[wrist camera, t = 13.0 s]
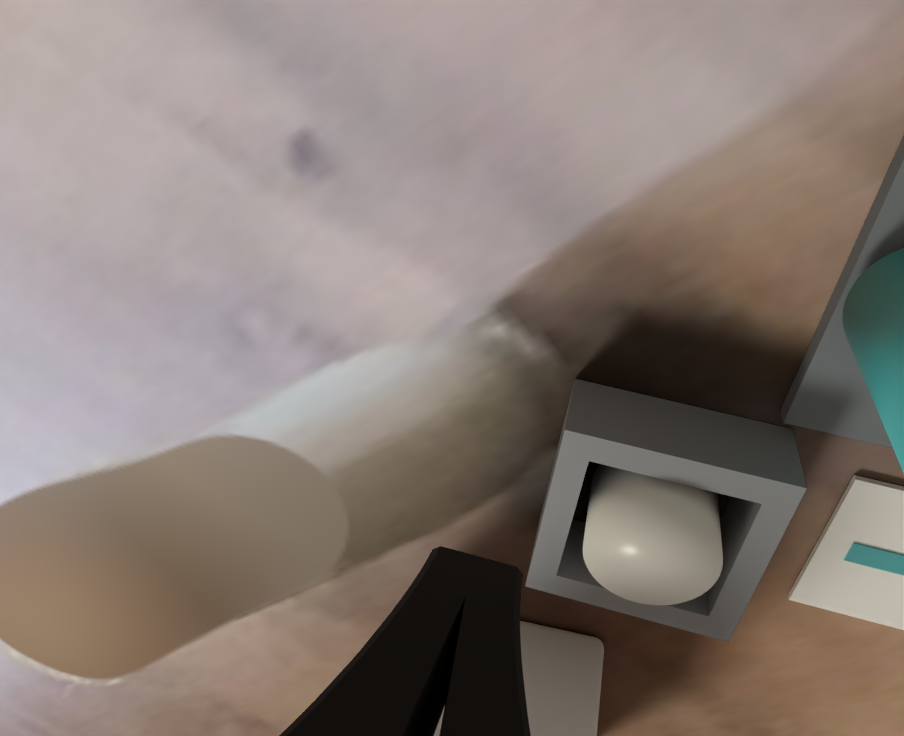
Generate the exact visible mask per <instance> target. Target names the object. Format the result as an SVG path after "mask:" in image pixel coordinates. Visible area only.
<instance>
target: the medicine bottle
mask: <svg viewBox="0 0 904 736" xmlns="http://www.w3.org/2000/svg"><path fill="white" fill-rule="evenodd" d="M520 637H521V656H522V669H523V678H524V687H525V696H526V705H527V713H528V720H529V727H530V734H531V736H597V727H598V715H599V704H600V692H601V681H602V669H603V658H604V647H603V642H602V641H601V640H600V639H598V638H596V637H593V636H588V635H584V634H579V633H575V632H570V631H565V630H561V629H556V628H552V627H547V626H543V625H538V624H534V623H529V622H524V621H520ZM444 708H445V706H444ZM443 713H444V709H443V712H442V714H441V717H440V720H439V723H438V725H437V728H436V731H435V733H434V736H439V735H440V730H441V724H442V719H443Z"/></svg>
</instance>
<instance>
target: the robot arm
mask: <svg viewBox="0 0 904 736" xmlns="http://www.w3.org/2000/svg"><path fill="white" fill-rule="evenodd" d="M522 579H523V574H522V572H521V571H520V570H519V568H518V567H515V566H511V565H508V564H504V563H500V562H497V561H493V560H489V559H485V558H482V557H478V556H474V555H471V554H467V553H463V552H460V551H456V550H452V549H449V548H445V547H441V546H440V547H438V548H435V549H433V550H432V552H431V553H430V555H429V557H428V559H427V561H426V563H425V564H424V566H423V567H422V569H421V571H420V572H419V574H418V575H417V577H416V578H415V580H414V581H413V583H412V584H411V586H410V587H409V589H408V590H407V592H406V593H405V594H404V596H403V597H402V598H401V600H400V601H399V602H398V604H397V605H396V607H395V608H394V609H393V611H392V612H391V613H390V615H389V616H388V617H387V618H386V620H385V621H384V622H383V623H382V624H381V626H380V627H379V628H378V629H377V631H376V632H375V633H374V634H373V636H372V637H371V638H370V639H369V640H368V642H367V643H366V644H365V645H364V647H363V648H362V649H361V650H360V651H359V653H358V654H357V655H356V656H355V657H354V658H353V660H352V661H351V662H350V663H349V664H348V665H347V666H346V667H345V668H344V669H343V670H342V672H341V673H340V674H339V675H338V676H337V677H336V678H335V679H334V680H333V681H332V682H331V684H330V685H329V686H328V687H327V688H326V689H325V690H324V691H323V692H322V693H321V694H320V696H319V697H318V698H317V699H316V700H315V701H314V702H313V703H312V704H311V705H310V706H309V707H308V708H307V709H306V710H305V711H304V712H303V713H302V714H301V715H300V716H299V717H298V718H297V719H296V720H295V721H294V722H293V723H292V724H291V725H290V726H289V727H288V728H287V729H286V730H285V731H284V732H283V733H282V734H281V735H279V736H434V733H435V731H436V728H437V725H438V723H439V720H440V717H441V714H442V712H443V709H444V713H443V719H442V724H441V730H440V735H439V736H531V734H530V727H529V720H528V713H527V705H526V696H525V687H524V678H523V669H522V656H521V637H520V598H521V585H522ZM444 706H445V708H444Z"/></svg>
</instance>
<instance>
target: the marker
mask: <svg viewBox="0 0 904 736" xmlns="http://www.w3.org/2000/svg"><path fill="white" fill-rule="evenodd" d="M842 321H843V328H844V332H845V335H846V337H847V340H848V342H849V345H850V347H851V349H852V352H853V354H854V356H855V359H856V361H857V364H858V366H859V368H860V371H861V373H862V375H863V378H864V380H865V383H866V385H867V387H868V390H869V392H870V394H871V397H872V399H873V401H874V404H875V406H876V409H877V411H878V413H879V416H880V418H881V420H882V423H883V425H884V428H885V430H886V432H887V435H888V437H889V439H890V442H891V444H892V447H893V449H894V451H895V454H896V456H897V458H898V461H899V463H900V466H901V468H902V470H903V473H904V248H902V249H899V250H897V251H895V252H892V253H890V254H888V255H886V256H885V257H883V258H881V259H880V260H878V261H877V262H875V263H874V264H872V265H871V266H870V267H869V268H868V269H867V270H865V271H864V272H863V273H862V275H861V276H860V277H859V278H858V279H857V280H856V282H855V283H854V284H853V286H852V287H851V289H850V291H849V293H848V295H847V297H846V300H845V303H844V307H843V315H842Z"/></svg>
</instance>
